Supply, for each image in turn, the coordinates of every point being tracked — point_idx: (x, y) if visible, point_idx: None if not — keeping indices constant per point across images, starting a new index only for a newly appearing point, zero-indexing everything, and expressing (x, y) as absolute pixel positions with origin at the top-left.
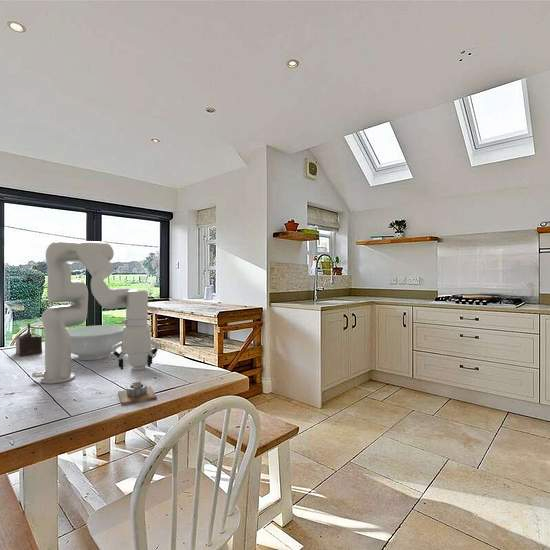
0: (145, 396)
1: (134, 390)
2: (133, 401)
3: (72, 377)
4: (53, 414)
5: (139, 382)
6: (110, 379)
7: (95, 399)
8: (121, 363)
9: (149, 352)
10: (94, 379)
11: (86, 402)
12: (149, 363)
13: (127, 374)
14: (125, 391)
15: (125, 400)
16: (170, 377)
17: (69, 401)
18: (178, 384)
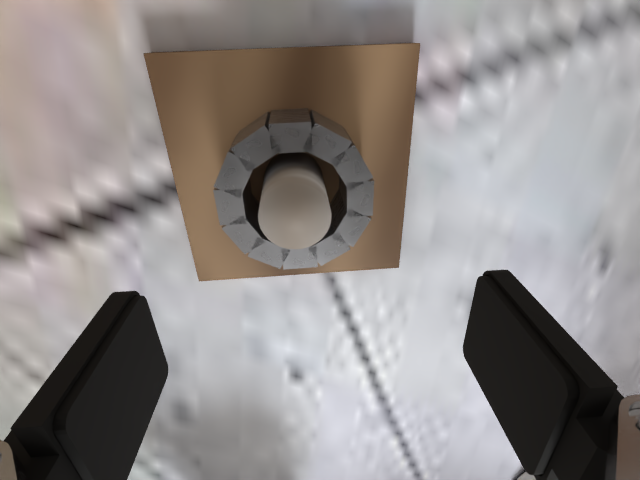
0: (234, 97)
1: (320, 123)
2: (329, 46)
3: (531, 477)
4: None
5: (274, 200)
6: (392, 440)
7: (521, 224)
8: (561, 328)
9: None
10: (452, 453)
11: (575, 197)
12: (106, 323)
13: (315, 471)
14: (359, 251)
15: (385, 74)
16: None
17: (634, 246)
18: (17, 286)
